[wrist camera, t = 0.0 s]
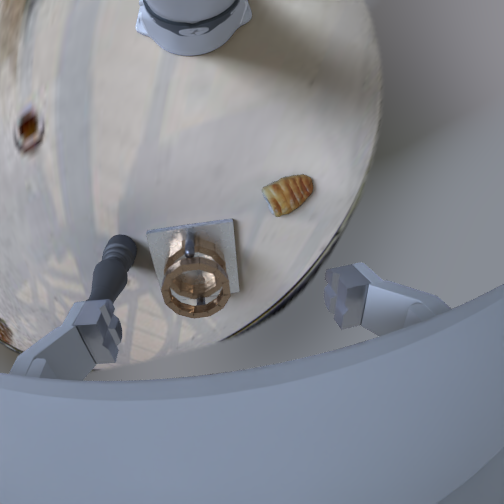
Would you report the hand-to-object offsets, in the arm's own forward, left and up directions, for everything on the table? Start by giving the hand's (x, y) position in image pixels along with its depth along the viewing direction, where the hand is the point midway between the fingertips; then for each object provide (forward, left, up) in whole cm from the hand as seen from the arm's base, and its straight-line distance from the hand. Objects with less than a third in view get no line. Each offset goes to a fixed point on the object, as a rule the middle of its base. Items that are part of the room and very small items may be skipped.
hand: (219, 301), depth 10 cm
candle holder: (+17, -18, -39) cm, 46 cm away
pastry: (+10, +14, -39) cm, 43 cm away
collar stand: (+22, -4, -39) cm, 45 cm away
